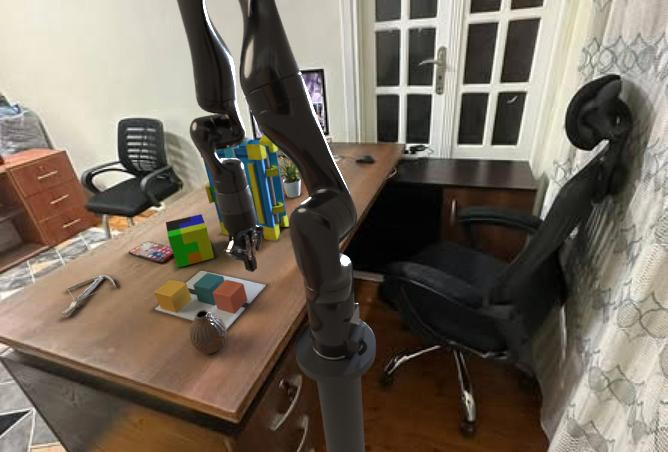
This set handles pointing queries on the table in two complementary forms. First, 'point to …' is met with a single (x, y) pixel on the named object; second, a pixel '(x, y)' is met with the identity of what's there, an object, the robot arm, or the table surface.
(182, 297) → the mustard block
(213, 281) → the teal block
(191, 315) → the desk mat
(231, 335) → the table surface
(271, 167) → the blue yellow-cornered frame
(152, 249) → the smartphone
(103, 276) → the crossbow
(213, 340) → the vase
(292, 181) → the house plant
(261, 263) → the table surface
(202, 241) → the puzzle toy
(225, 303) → the terracotta block
